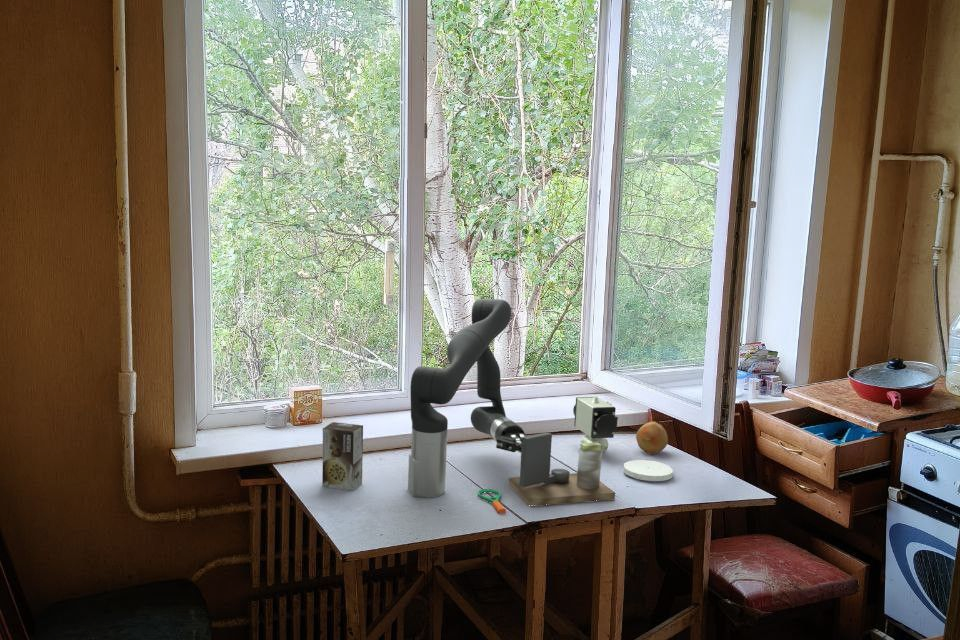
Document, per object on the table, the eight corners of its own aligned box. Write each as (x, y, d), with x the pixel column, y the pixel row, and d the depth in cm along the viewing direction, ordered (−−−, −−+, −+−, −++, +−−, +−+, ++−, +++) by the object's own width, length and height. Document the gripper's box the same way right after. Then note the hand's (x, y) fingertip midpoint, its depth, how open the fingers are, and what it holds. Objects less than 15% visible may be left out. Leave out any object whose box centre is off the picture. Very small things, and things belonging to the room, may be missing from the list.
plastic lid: (645, 465, 236) (646, 457, 235) (682, 479, 225) (683, 470, 224) (613, 472, 227) (613, 464, 227) (649, 487, 216) (650, 479, 216)
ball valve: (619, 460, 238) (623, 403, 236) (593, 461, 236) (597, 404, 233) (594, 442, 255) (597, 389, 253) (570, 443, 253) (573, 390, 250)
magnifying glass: (474, 493, 206) (475, 487, 206) (496, 492, 208) (497, 486, 207) (490, 516, 191) (490, 509, 191) (513, 514, 193) (514, 508, 193)
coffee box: (363, 483, 208) (364, 425, 206) (352, 491, 202) (354, 431, 200) (332, 478, 211) (333, 421, 209) (320, 486, 205) (321, 427, 202)
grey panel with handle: (528, 493, 201) (530, 440, 199) (515, 487, 205) (518, 435, 203) (573, 481, 211) (576, 431, 209) (560, 475, 215) (563, 426, 213)
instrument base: (529, 506, 198) (532, 454, 196) (508, 484, 213) (510, 436, 211) (614, 499, 205) (618, 450, 203) (588, 479, 220) (591, 432, 218)
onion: (632, 447, 252) (635, 417, 251) (663, 449, 252) (666, 419, 251) (637, 456, 243) (639, 425, 241) (669, 458, 242) (672, 427, 241)
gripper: (485, 421, 218) (506, 439, 202) (529, 419, 222) (553, 437, 206) (484, 447, 219) (505, 467, 203) (528, 445, 223) (552, 464, 207)
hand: (529, 452), depth 204 cm, fingers closed
